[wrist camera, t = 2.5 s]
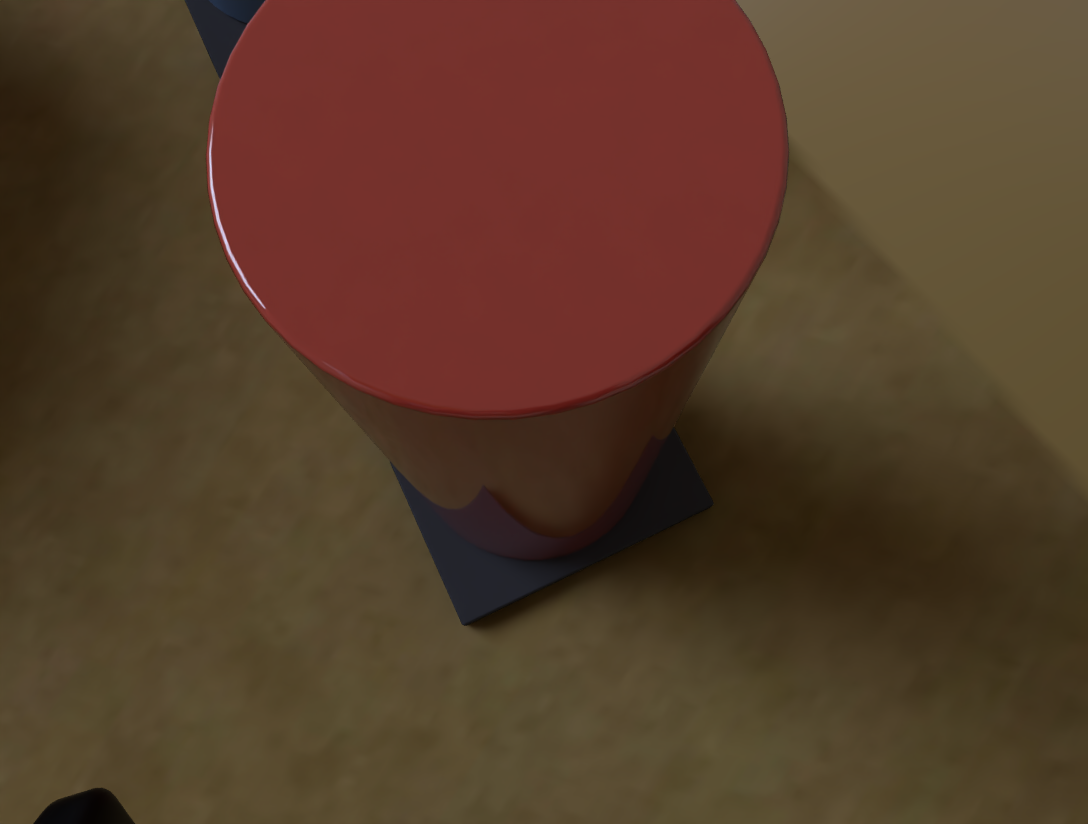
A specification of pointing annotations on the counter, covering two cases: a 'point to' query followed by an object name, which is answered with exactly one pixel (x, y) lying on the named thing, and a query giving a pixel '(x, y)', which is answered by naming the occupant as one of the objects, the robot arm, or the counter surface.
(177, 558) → the counter surface
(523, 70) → the red cylinder
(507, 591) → the charcoal mat
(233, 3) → the blue cylinder
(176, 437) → the counter surface
